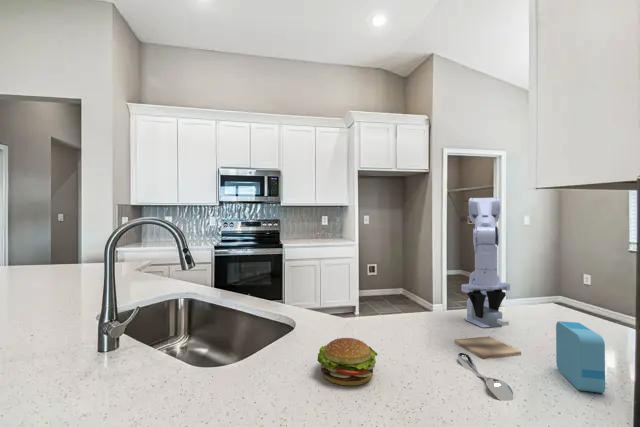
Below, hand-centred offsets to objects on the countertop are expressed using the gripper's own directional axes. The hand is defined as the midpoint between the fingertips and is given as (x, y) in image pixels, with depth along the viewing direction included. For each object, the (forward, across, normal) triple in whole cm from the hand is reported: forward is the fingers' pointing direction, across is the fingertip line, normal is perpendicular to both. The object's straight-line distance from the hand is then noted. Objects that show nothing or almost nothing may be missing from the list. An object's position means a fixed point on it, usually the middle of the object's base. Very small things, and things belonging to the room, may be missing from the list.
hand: (486, 316), depth 94 cm
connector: (+1, 0, -1) cm, 2 cm away
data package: (+9, +7, -21) cm, 24 cm away
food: (+9, -43, -6) cm, 44 cm away
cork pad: (+9, 0, 0) cm, 9 cm away
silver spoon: (+10, -14, -15) cm, 22 cm away
